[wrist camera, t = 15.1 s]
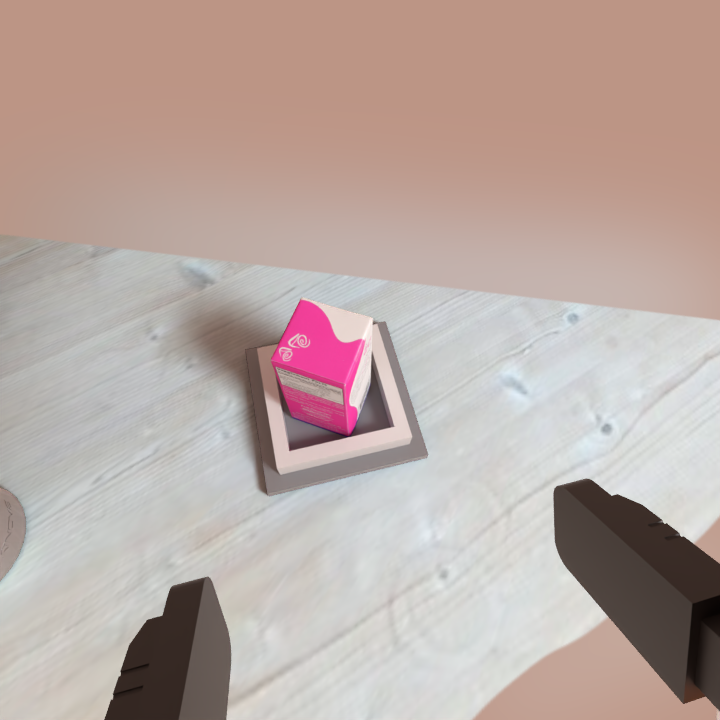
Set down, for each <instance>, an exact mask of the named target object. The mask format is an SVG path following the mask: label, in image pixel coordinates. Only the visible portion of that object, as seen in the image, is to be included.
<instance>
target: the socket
mask: <svg viewBox="0 0 720 720" xmlns="http://www.w3.org/2000/svg"><path fill="white" fill-rule="evenodd" d="M278 344H279V343H276V344H271V345H266V346H261V347H256V348H251V349H246V350H245V351H246V357H247V364H248V371H249V377H250V384H251V390H252V397H253V403H254V410H255V416H256V423H257V430H258V436H259V443H260V449H261V456H262V462H263V469H264V475H265V482H266V489H267V494H268V495H269V496H273V495H277V494H281V493H285V492H289V491H293V490H297V489H301V488H305V487H309V486H314V485H318V484H322V483H326V482H330V481H334V480H338V479H342V478H346V477H350V476H354V475H359V474H363V473H367V472H371V471H375V470H379V469H383V468H387V467H391V466H395V465H400V464H404V463H408V462H412V461H416V460H420V459H424V458H427V456H428V452H427V449H426V446H425V443H424V440H423V437H422V434H421V431H420V427H419V424H418V421H417V418H416V415H415V412H414V409H413V406H412V403H411V399H410V396H409V393H408V390H407V387H406V384H405V381H404V378H403V375H402V371H401V368H400V365H399V362H398V359H397V356H396V353H395V350H394V347H393V343H392V340H391V337H390V334H389V331H388V328H387V325H386V322H380V323H375V324H373V328H372V354H371V386H370V388H369V391H368V394H367V397H366V400H365V402H364V405H363V408H362V410H361V413H360V416H359V418H358V421H357V423H356V426H355V428H354V431H353V433H352V435H351V437H345V436H342V435H339V434H336V433H334V432H331V431H328V430H325V429H322V428H319V427H316V426H314V425H311V424H308V423H305V422H302V421H300V420H297V419H294V418H292V415H291V413H290V410H289V408H288V405H287V402H286V400H285V397H284V394H283V392H282V389H281V387H280V384H279V382H278V379H277V376H276V374H275V371H274V368H273V366H272V363H271V358H272V356H273V354H274V352H275V350H276V348H277V346H278Z"/></svg>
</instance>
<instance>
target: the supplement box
mask: <svg viewBox="0 0 720 720" xmlns="http://www.w3.org/2000/svg"><path fill="white" fill-rule="evenodd" d="M372 328H373V318H372V317H368V316H364V315H361V314H357V313H353V312H350V311H346V310H343V309H339V308H336V307H333V306H329V305H326V304H323V303H319V302H316V301H313V300H310V299H306V298H301V299H300V302H299V303H298V305H297V307H296V309H295V311H294V313H293V315H292V317H291V319H290V321H289V323H288V325H287V328H286V330H285V332H284V334H283V336H282V337H281V340H280V342H279V344H278V346H277V348H276V350H275V352H274V354H273V356H272V358H271V363H272V366H273V368H274V371H275V374H276V376H277V379H278V382H279V384H280V387H281V389H282V392H283V394H284V397H285V400H286V402H287V405H288V408H289V410H290V413H291V415H292V418H294V419H297V420H300V421H302V422H305V423H308V424H311V425H314V426H316V427H319V428H322V429H325V430H328V431H331V432H334V433H336V434H339V435H342V436H345V437H351V435H352V433H353V431H354V428H355V426H356V423H357V421H358V418H359V416H360V413H361V410H362V408H363V405H364V402H365V400H366V397H367V394H368V391H369V388H370V386H371V354H372Z"/></svg>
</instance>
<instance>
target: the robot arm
mask: <svg viewBox="0 0 720 720" xmlns="http://www.w3.org/2000/svg"><path fill="white" fill-rule="evenodd" d="M554 527H555V543H556V547H557V550H558V553H559V556H560V558H561V560H562V561H563V563H564V565H565V566H566V567H567V569H568V570H569V571H570V572H571V573H572V575H573V576H574V577H575V578H576V579H577V580H578V582H579V583H580V584H581V585H582V586H583V587H584V589H585V590H586V591H587V592H588V593H589V594H590V596H591V597H592V598H593V599H594V600H595V601H596V603H597V604H598V605H599V606H600V607H601V608H602V610H603V611H604V612H605V613H606V614H607V615H608V617H609V618H610V619H611V620H612V621H613V622H614V623H615V625H616V626H617V627H618V628H619V629H620V631H621V632H622V633H623V634H624V635H625V636H626V638H627V639H628V640H629V641H630V642H631V643H632V645H633V646H634V647H635V648H636V649H637V650H638V652H639V653H640V654H641V655H642V656H643V657H644V659H645V660H646V661H647V662H648V663H649V664H650V666H651V667H652V668H653V669H654V670H655V671H656V673H657V674H658V675H659V676H660V677H661V678H662V680H663V681H664V682H665V683H666V684H667V685H668V687H669V688H670V689H671V690H672V691H673V692H674V694H675V695H676V696H677V697H678V698H679V699H680V701H681V702H682V703H683V704H685V703H688V702H691V701H694V700H696V699H699V698H702V697H705V696H706V697H707V698H708V699H709V700H710V701H711V702H712V704H713V705H714V706H715V707H716V708H717V714H716V720H720V564H719V563H718V562H716V561H715V560H714V559H713V558H711V557H710V556H708V555H707V554H706V553H705V552H703V551H702V550H701V549H699V548H698V547H697V546H696V545H694V544H693V543H692V542H690V541H689V540H688V539H686V538H685V537H681V536H680V534H679V533H678V532H677V531H676V530H675V529H673V528H672V527H671V526H669V525H668V524H667V523H666V524H664V523H663V520H661V519H660V518H659V517H657V516H656V515H655V514H654V513H652V512H651V511H650V510H648V509H647V508H646V507H644V506H643V505H641V504H639V503H636V502H634V501H632V500H629V499H627V498H625V497H622V496H620V495H618V494H617V495H613V496H611V495H610V494H609V493H607V492H606V491H605V490H604V489H602V488H601V487H600V486H599V485H597V484H596V483H595V482H594V481H592V480H590V479H583V480H579V481H575V482H571V483H567V484H564V485H560V486H557V487H556V488H555V490H554ZM25 532H26V517H25V514H24V510H23V507H22V505H21V504H20V502H19V501H18V499H17V498H16V497H15V496H14V495H13V494H11V493H10V492H9V491H6V490H4V489H2V488H0V581H1V580H2V579H3V577H4V576H5V575H6V574H7V573H8V571H9V570H10V569H11V567H12V566H13V564H14V562H15V561H16V559H17V557H18V556H19V553H20V550H21V548H22V545H23V543H24V538H25ZM230 670H231V645H230V637H229V632H228V629H227V625H226V622H225V619H224V616H223V613H222V610H221V607H220V604H219V601H218V598H217V595H216V592H215V589H214V586H213V583H212V581H211V579H210V578H209V577H205V578H201V579H197V580H193V581H189V582H185V583H182V584H178V585H174V586H172V587H171V589H170V591H169V594H168V597H167V601H166V605H165V608H164V612H163V616H160V617H156V618H152V619H149V620H147V621H146V622H145V624H144V625H143V627H142V628H141V629H140V631H139V632H138V634H137V635H136V636H135V638H134V639H133V641H132V642H131V643H130V645H129V648H128V651H127V654H126V657H125V660H124V663H123V666H122V669H121V676H120V677H119V678H118V681H117V684H116V687H115V690H114V693H113V700H111V702H110V705H109V708H108V711H107V714H106V717H105V720H226V715H227V703H228V692H229V681H230Z"/></svg>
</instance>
